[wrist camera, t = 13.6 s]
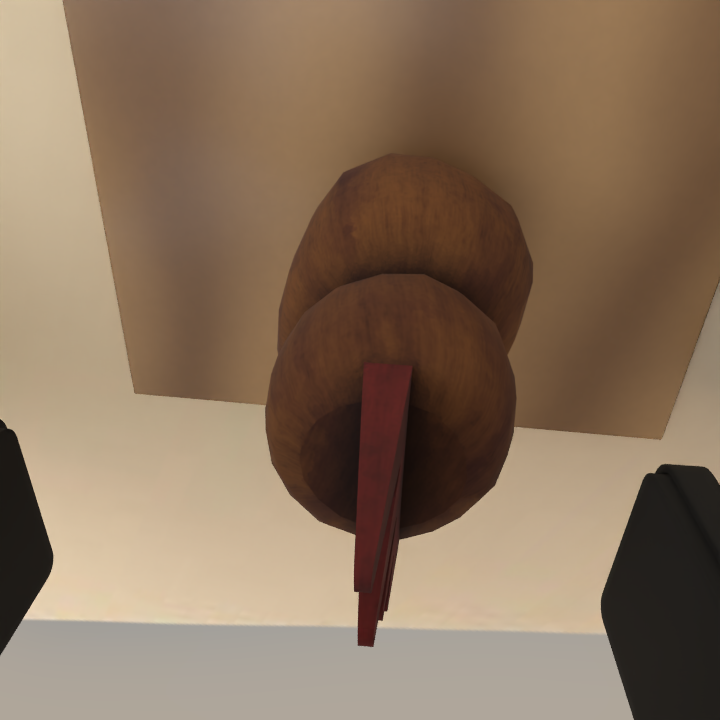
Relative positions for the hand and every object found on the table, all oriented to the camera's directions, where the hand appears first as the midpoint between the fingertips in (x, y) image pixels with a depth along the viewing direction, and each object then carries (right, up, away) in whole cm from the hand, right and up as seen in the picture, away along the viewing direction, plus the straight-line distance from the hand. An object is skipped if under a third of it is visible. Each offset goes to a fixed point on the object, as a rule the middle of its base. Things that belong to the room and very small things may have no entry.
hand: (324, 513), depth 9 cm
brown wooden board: (+2, +6, +11) cm, 13 cm away
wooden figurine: (+2, +6, +10) cm, 12 cm away
